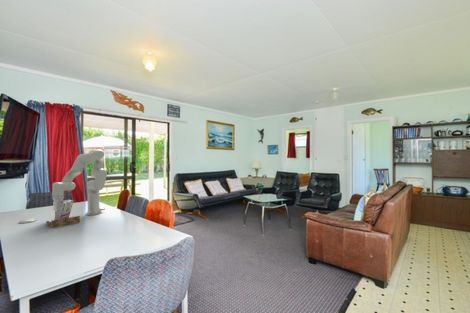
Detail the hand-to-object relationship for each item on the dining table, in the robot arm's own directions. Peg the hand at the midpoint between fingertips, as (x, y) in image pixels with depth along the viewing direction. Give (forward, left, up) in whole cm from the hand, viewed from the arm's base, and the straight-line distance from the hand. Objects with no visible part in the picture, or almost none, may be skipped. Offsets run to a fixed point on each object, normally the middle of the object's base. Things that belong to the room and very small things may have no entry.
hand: (57, 219), depth 191 cm
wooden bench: (0, +13, -1) cm, 13 cm away
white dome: (+16, -16, -1) cm, 23 cm away
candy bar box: (-1, +4, -1) cm, 4 cm away
